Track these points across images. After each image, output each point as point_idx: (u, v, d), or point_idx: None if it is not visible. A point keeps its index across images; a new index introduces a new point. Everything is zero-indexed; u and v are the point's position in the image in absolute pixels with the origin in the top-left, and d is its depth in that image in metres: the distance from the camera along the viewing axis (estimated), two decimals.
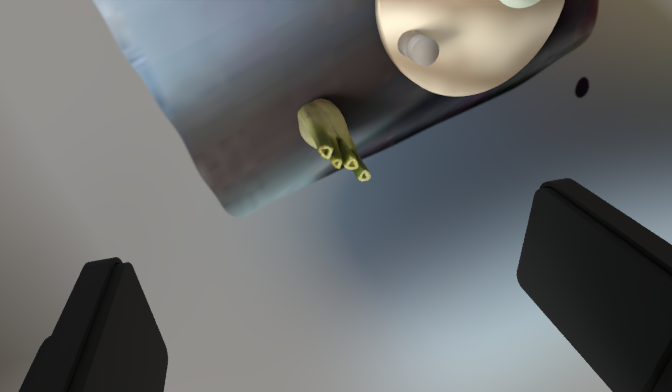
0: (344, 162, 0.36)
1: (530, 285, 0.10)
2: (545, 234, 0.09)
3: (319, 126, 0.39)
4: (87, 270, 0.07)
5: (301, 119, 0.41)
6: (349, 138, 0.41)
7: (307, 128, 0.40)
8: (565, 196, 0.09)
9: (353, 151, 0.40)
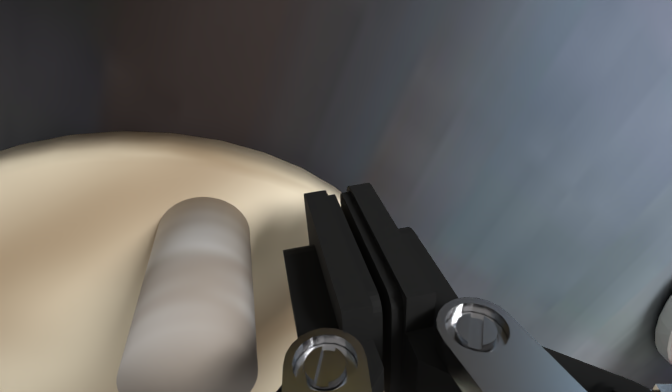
0: None
1: None
2: None
3: None
4: (310, 197, 0.09)
5: None
6: None
7: None
8: (358, 200, 0.09)
9: None
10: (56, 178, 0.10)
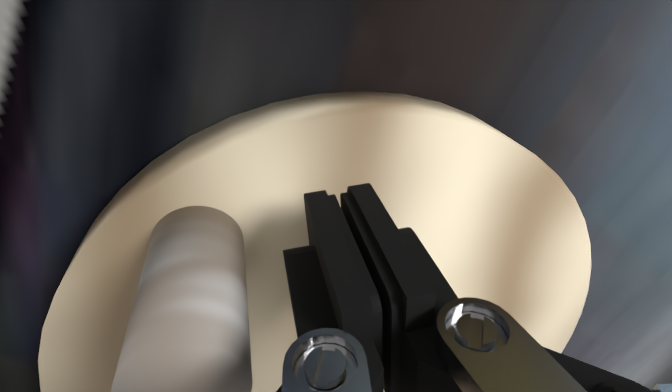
0: None
1: None
2: None
3: None
4: (310, 197, 0.09)
5: None
6: None
7: None
8: (358, 200, 0.09)
9: None
10: (70, 293, 0.11)
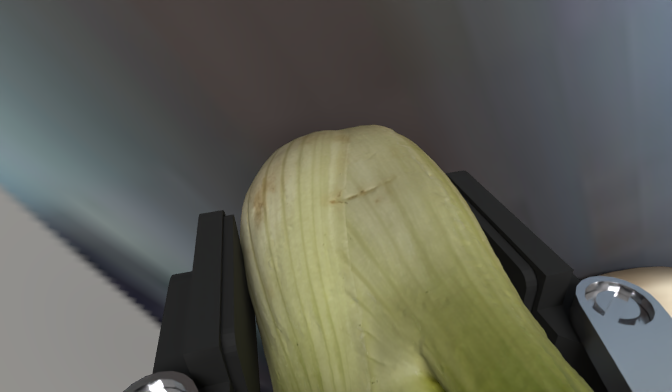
0: None
1: None
2: None
3: None
4: (203, 219, 0.09)
5: (423, 168, 0.08)
6: None
7: (460, 239, 0.07)
8: (457, 187, 0.10)
9: None
10: None
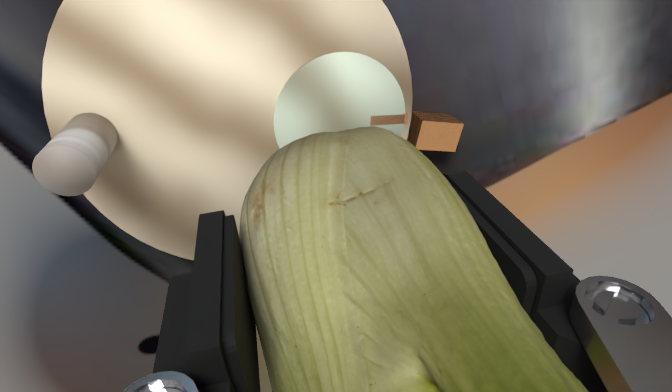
0: None
1: None
2: None
3: None
4: (203, 219, 0.09)
5: (421, 169, 0.08)
6: None
7: (458, 241, 0.07)
8: (456, 187, 0.10)
9: None
10: (90, 194, 0.23)
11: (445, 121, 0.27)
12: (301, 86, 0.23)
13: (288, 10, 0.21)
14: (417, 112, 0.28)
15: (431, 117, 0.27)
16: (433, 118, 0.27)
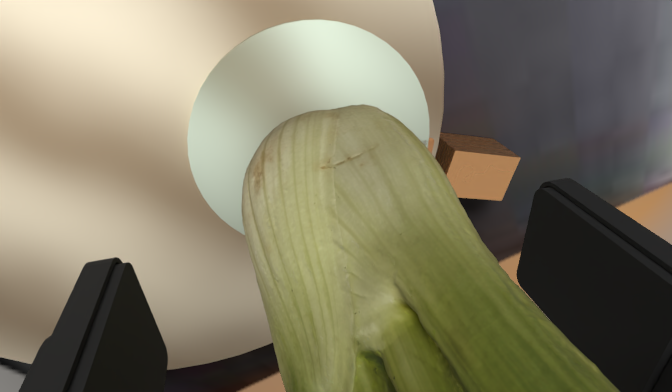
0: None
1: (530, 284, 0.10)
2: (545, 234, 0.09)
3: None
4: (87, 270, 0.07)
5: (403, 137, 0.09)
6: None
7: (431, 191, 0.08)
8: (564, 196, 0.09)
9: None
10: None
11: (491, 152, 0.16)
12: (239, 82, 0.12)
13: None
14: (444, 134, 0.17)
15: (467, 144, 0.17)
16: (471, 146, 0.16)
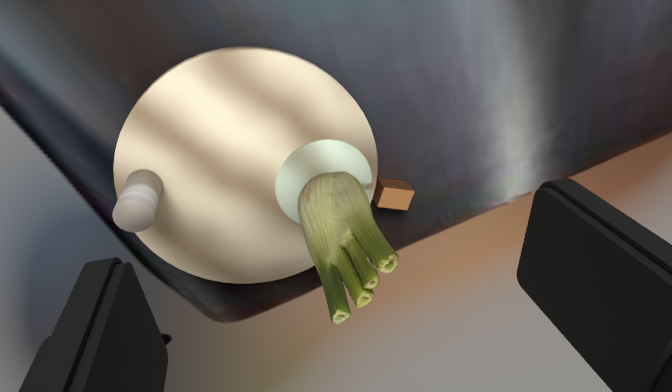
0: (364, 287, 0.24)
1: (530, 284, 0.10)
2: (545, 234, 0.09)
3: None
4: (87, 270, 0.07)
5: (356, 186, 0.29)
6: None
7: (362, 204, 0.28)
8: (564, 196, 0.09)
9: None
10: None
11: (401, 188, 0.36)
12: (298, 160, 0.32)
13: (294, 111, 0.30)
14: (381, 178, 0.37)
15: (391, 183, 0.37)
16: (392, 185, 0.36)
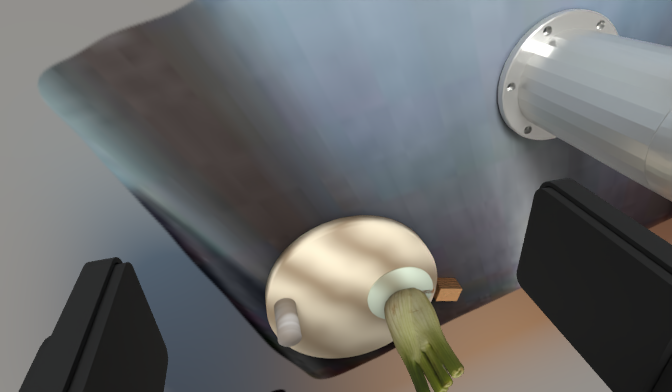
0: (442, 385, 0.39)
1: (530, 284, 0.10)
2: (545, 234, 0.09)
3: None
4: (87, 270, 0.07)
5: (427, 305, 0.44)
6: None
7: (433, 322, 0.42)
8: (565, 196, 0.09)
9: (421, 368, 0.42)
10: (275, 329, 0.46)
11: (452, 287, 0.50)
12: (384, 282, 0.46)
13: (383, 254, 0.44)
14: (437, 279, 0.51)
15: (445, 283, 0.51)
16: (446, 285, 0.51)
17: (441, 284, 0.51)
